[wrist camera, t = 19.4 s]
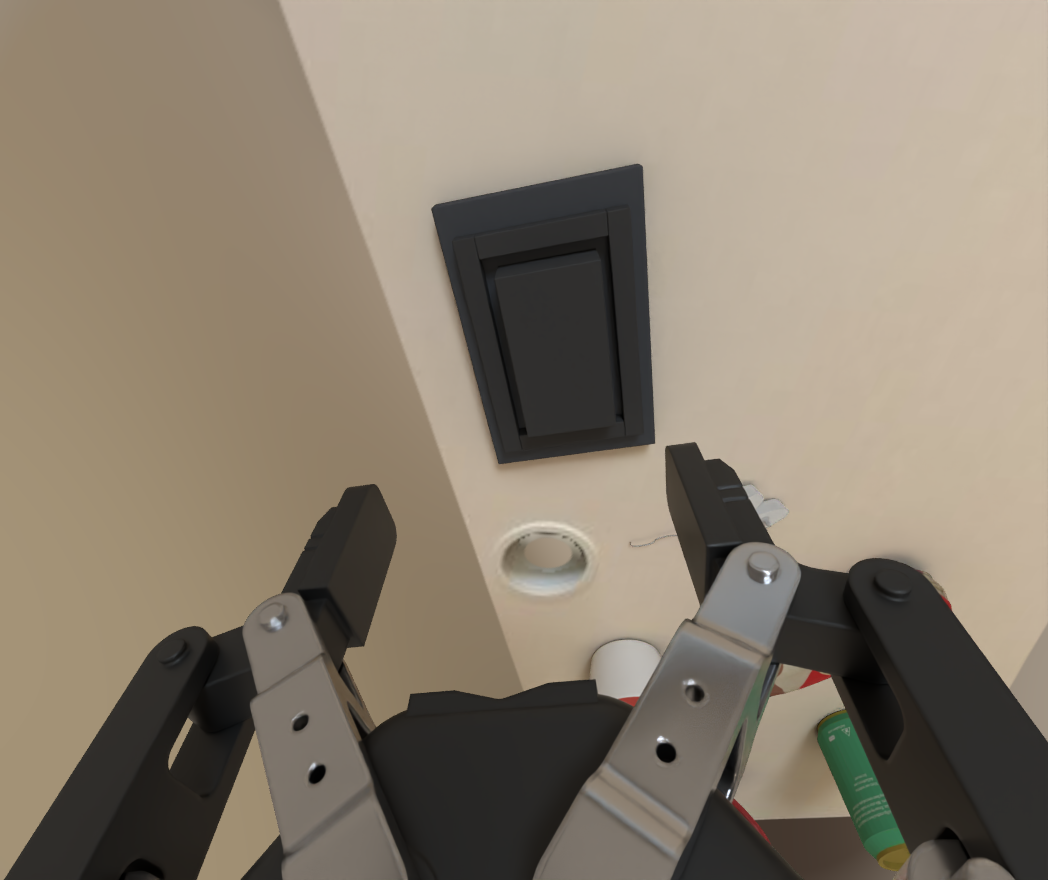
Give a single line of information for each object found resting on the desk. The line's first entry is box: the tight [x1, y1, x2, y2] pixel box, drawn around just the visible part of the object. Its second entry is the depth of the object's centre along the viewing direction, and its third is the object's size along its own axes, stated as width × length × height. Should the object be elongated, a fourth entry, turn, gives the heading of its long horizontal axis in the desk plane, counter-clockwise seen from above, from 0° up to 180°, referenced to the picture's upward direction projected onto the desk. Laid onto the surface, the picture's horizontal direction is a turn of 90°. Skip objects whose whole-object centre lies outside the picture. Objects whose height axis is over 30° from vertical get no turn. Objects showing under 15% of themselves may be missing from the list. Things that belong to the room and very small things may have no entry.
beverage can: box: [817, 710, 910, 871], centre depth 51 cm, size 8×8×12 cm
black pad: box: [494, 249, 616, 437], centre depth 29 cm, size 10×6×2 cm, turn 10°
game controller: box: [630, 485, 789, 547], centre depth 39 cm, size 6×12×3 cm, turn 131°
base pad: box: [431, 164, 655, 464], centre depth 30 cm, size 17×11×2 cm, turn 10°
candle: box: [589, 640, 662, 707], centre depth 47 cm, size 9×9×6 cm
